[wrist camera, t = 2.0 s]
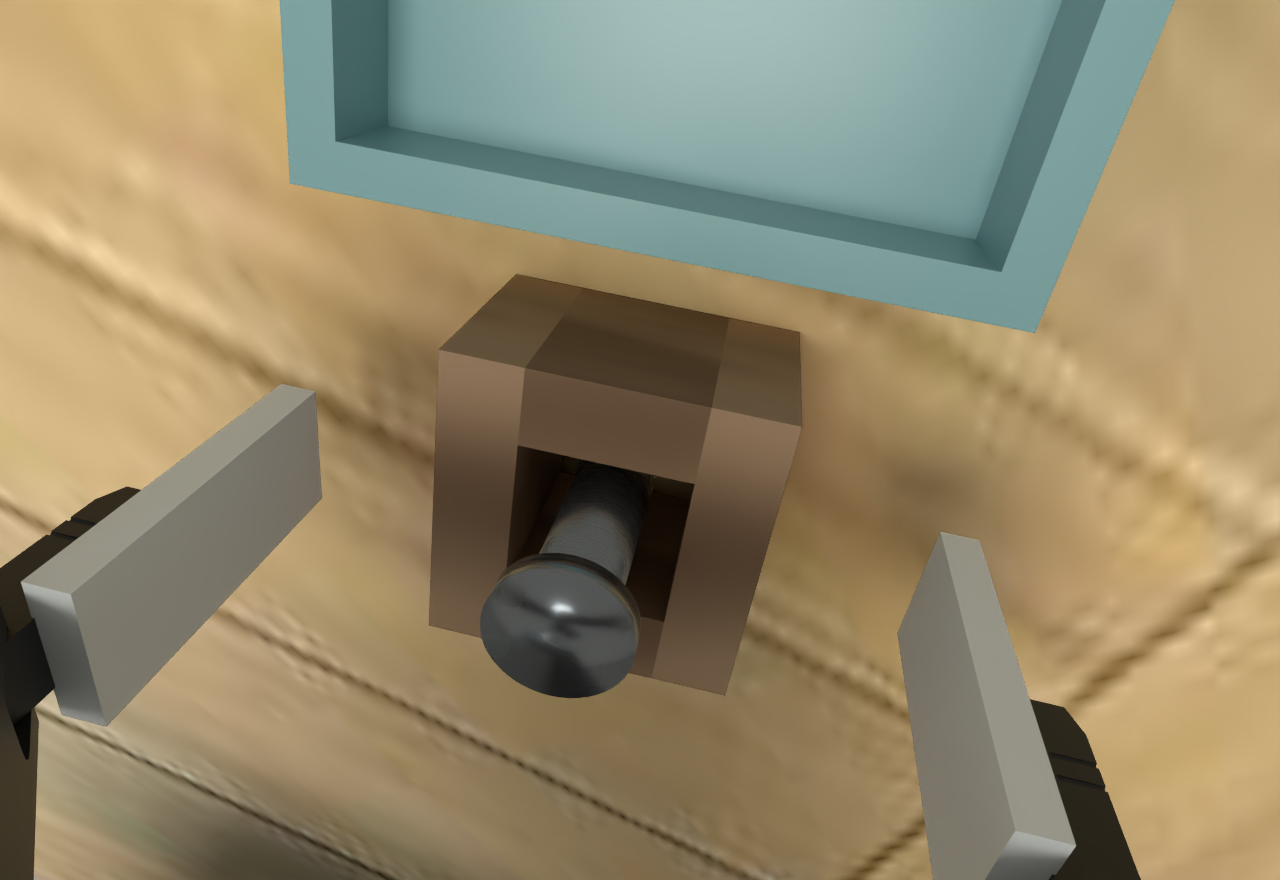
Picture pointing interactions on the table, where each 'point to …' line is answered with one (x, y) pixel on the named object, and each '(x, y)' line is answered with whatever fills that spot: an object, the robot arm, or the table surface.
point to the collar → (616, 456)
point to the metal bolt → (574, 591)
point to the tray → (737, 130)
